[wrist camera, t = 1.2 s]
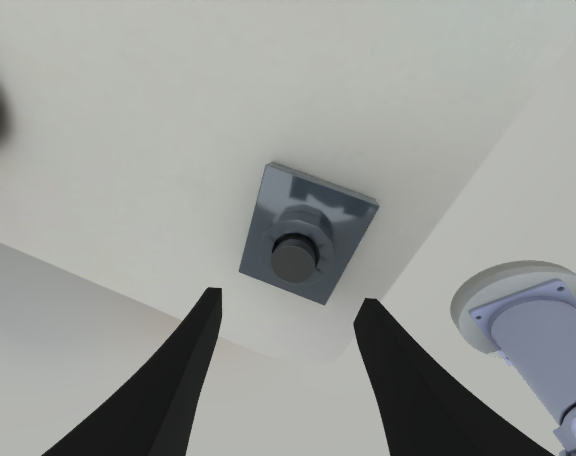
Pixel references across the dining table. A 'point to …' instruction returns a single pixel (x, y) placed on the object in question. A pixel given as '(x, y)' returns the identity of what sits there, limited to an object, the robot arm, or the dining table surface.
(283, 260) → the dark grey push button
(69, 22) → the dining table surface
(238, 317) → the dining table surface
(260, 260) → the grey button housing
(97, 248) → the dining table surface
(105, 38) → the dining table surface
